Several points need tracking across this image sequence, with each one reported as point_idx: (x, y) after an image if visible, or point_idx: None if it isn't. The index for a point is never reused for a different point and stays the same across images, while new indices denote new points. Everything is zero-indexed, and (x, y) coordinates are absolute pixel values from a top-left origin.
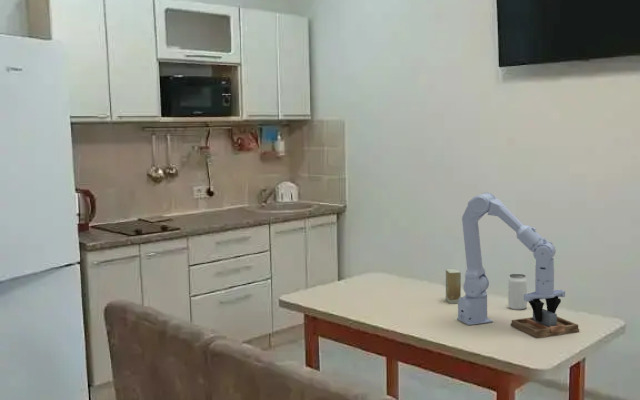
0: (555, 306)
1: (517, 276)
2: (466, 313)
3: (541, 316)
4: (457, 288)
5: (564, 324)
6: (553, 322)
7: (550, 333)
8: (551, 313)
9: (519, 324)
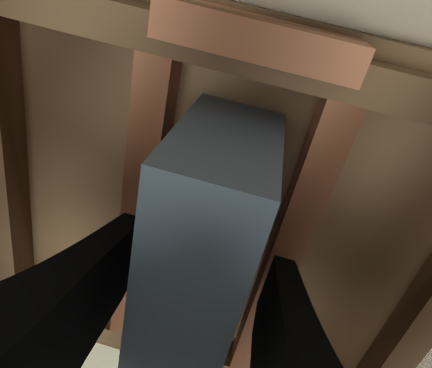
0: (8, 313)
1: None
2: None
3: (283, 295)
4: None
5: (30, 144)
6: (229, 132)
7: (379, 39)
8: (183, 238)
9: (419, 352)
